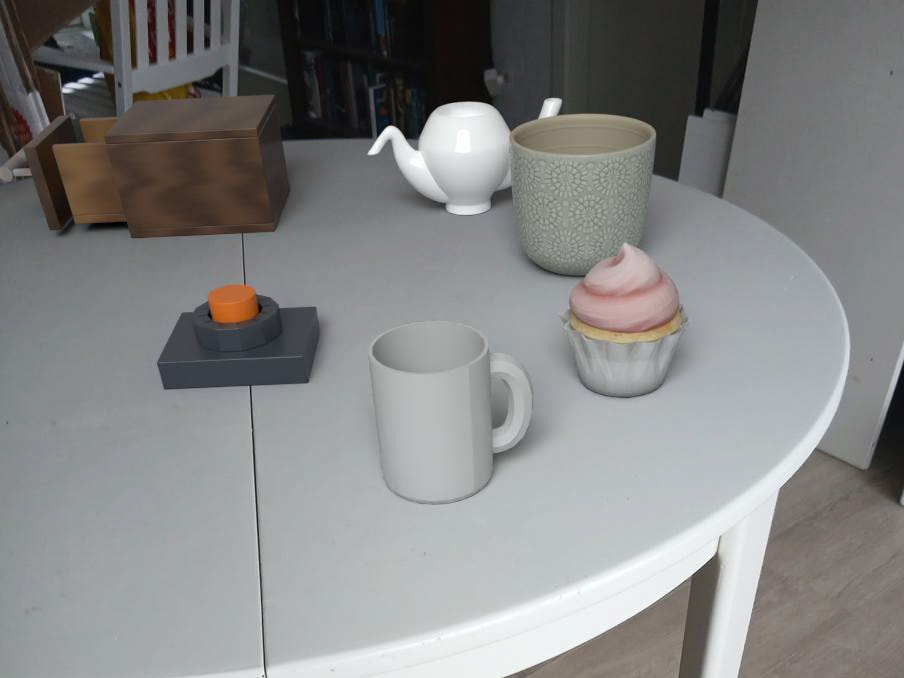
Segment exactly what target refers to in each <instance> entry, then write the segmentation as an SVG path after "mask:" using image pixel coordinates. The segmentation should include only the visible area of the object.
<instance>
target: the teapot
mask: <svg viewBox="0 0 904 678" xmlns="http://www.w3.org/2000/svg"><path fill="white" fill-rule="evenodd" d="M562 104H563V100H562V99H561V98H559V97H550V98H546V99H545V100H543V104H542V107H541V110H540V113H539V115H538V117H537V119H541V118H545V117H551V116H558V115H559V112H560V110H561V109H562V108H561V107H562ZM511 132H512V130H511V129H510V128H509V126H508V124H507V122H506V121H505V119H504V117H503V115H501V113H500V111H499V110H498V109H497V108H495V106H493V105H491V104H488V103H485V102H481V101H458V102H452V103H447V104H443V105H440V106H438V107H436V108H435V109H434V110H433V111H432V112H431V113H430V115H429V116H428V118H427V120H426V122H425V124H424V126H423V129H422V131H421V132H420V135H419V138H418V141H417V149H414V148H413V147H412V146H411V145H410V143H408V141H407V139H406V137H405V136H404V134H403V133H402V131H401V130H400V129H399V128H398V127H396V126H394V125H388V126H386V127H385V128H384V129H383V131H382V132H381V133H380V134H379V136H378V137H377V139H376V140H375V141H374V143H373V145H372V146H371V147H370V149H369V150H368V152H367V153H366V154H367V155H368V156H373V155H377V154H380V153H381V152H382V150H383V148H384V146H385V145H386V143H387V142H388V141H390V142H391V146H392V151H393V155H394V156H393V157H394V159H395V163H396V165H397V167H398V169H399V171H400V172H401V174H402V175H403V177H404V178H405V179H406V181H407V182H408V183H409V185H410V186H411V187H412V188H414V189H415V191H416V192H417V193H419V194H421V195H422V196H424V197H426V198H427V199H429V200H431V201H434V202H437V203H441V204H445V210H446V212H448V213H451V214H453V215H457V216H475V215H479V214H483V213H486V212H488V211H490V209H491V208H492V202H491V198H492V196H493V195H494V194H495V192H499V191H503V190H507V189H509V188H511V187H512V185H511V173H510V156H509V135H510V133H511Z"/></svg>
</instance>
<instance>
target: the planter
mask: <svg viewBox="0 0 904 678" xmlns="http://www.w3.org/2000/svg"><path fill="white" fill-rule="evenodd" d="M656 144H657V132H656V129H655V128H654V127H653V126H652V125H651V124H649V123H647V122H645V121H642V120H639V119H637V118H632V117H629V116H623V115H616V114H607V113H571V114H570V113H569V114H568V113H567V114H560V115H559V114H558V115H557V116H551V117H545V118H541V119H538V118H537V119H532V120H530V121H527V122H525V123H522V124H520V125H518V126H516V127H515V128H514V129H512V130H511V133H510V135H509V156H510V173H511V185H512V186H511V194H512V204H513V213H514V214H513V215H514V221H515V228H516V235H517V239H518V242H519V245H520V247H521V248H522V251H523V252H524V253H525V255H526V256H527V257H528V258H529V259H530V261H532V262H534V263H535V264H536V265H538V266H539V267H541V268H542V269H544V270H546V271H548V272H551V273H554V274H558V275H564V276H574V277H575V276H576V277H579V276H580V277H581V276H586V274H587V273H588V272H589V271H590V270H591V269H592V268H593V267H594V266H595V265H596V264H598V263H599V262H600V261H602V260H604V259H606V258H609V257H614V256H618V253H619V250H620V249H621V247H622V245H623V243H628V244H630V245H632V246H634V247H637V248H638V246H639V244H640V241H641V239H642V236H643V232H644V227H645V224H646V223H645V222H646V218H647V212H648V206H649V201H650V192H651V186H652V180H653V173H654V165H655V156H656V147H657V146H656Z"/></svg>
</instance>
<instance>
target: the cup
mask: <svg viewBox="0 0 904 678" xmlns="http://www.w3.org/2000/svg"><path fill="white" fill-rule="evenodd" d="M489 342H490V341H489V339H488V337H487V335H485V334H484V332H482V331H481V330H479V329H478V328H476V327H473V326H471V325H468V324H465V323H460V322H455V321H449V320H425V321H423V320H422V321H416V322H409V323H404V324H401V325H397V326H395V327H392V328H389V329H387V330H385V331H383V332H381V333H379V334H378V335H377V336H376V337H375V338H373V339H372V340H371V342H370V343H369V345H368V347H367V356H368V357H367V358H368V366H369V375H370V382H371V383H370V384H371V390H372V400H373V406H374V407H373V408H374V415H375V416H374V417H375V424H376V432H377V440H378V449H379V456H380V466H381V471H382V477H383V480H384V481H385V483H386V485H387V487H389V489H390V490H391V491H392V492H394V493H395V494H396V495H397V496H398V497H400V498H403V499H404V500H406V501H410V502H413V503H418V504H426V505H443V504H449V503H450V504H451V503H454V502H459V501H463V500H465V499H467V498H470V497H472V496H474V495H475V494H477V493H479V492H480V491H481V490H482V489H483V488H484V487H485V485H486V484H488V482H489V481H490V479H491V478H492V474H493V471H494V454H498V453H503V452H505V451H507V450H509V449H511V448H514V447H515V446H516V445H517V444H519V442H520V441H521V440H522V439H523V438H524V436H525V434H526V432H527V430H528V428H529V426H530V423H531V419H532V415H533V410H534V388H533V383H532V379H531V376H530V374H529V371H527V368H526V366H525V365H524V364H523V363H522V362H521V361H520V360H519V359H517V358H516V357H514V356H513V355H512V354H511V355H510V354H506V353H502V352H490V343H489ZM496 379H501V380H502V382H503V384H504V386H505V388H506V391H507V397H508V409H507V415H506V417H505V420H504V421H503V422H502V424H500V425H498V426H496V427H493V419H492V417H493V415H492V393H491V392H492V391H491V390H492V389H491V388H492V387H491V380H496Z"/></svg>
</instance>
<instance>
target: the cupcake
mask: <svg viewBox="0 0 904 678" xmlns="http://www.w3.org/2000/svg"><path fill="white" fill-rule="evenodd" d="M679 294H680V293H679V289H678V288H677V286H676V285H675V282H674V281H673V279H672V278H671V277H670V276H669V274H668V273H667V272H666V271H664V269H662V268H660V267H659V266H658V265H657V263H656V261H655V260H654V259H653V258H652V257H651V255H649V254H648V253H647V252H645V251H644V250H642V249H641V248H639V247H638V246H637V247H634V246H632V245H630V244H628V243H623V245H622V247H621V249H620V250H619V253H618V256H614V257H609V258H606V259H604V260H602V261H600V262H599V263H598V264H596V265H595V266H594V267H593V268H592V269H591V270H590V271H589V272H588V273H587V274H586V275H584V278H583V279H581V280H580V281H579V282H578V283H576V284H575V285H574V287H573V288H572V290H571V291H570V294H569V298H568V304H569V307H570V308H569V309H567V310H564V311H561V312H560V313H559V314H558V315H559V317H560V319H561V321H562V323H563V330H564V332H565V334H566V336H567V338H568V340H569V341H570V344H571V346H572V351H573V357H574V361H575V366H576V370H577V375H578V377H579V378H578V379H580V381H581V384H583V385H584V387H586V388H587V389H589V390H591V391H592V392H595V393H597V394H601V395H604V396H608V397H618V398H621V397H623V398H624V397H625V398H630V397H636V396H641V395H642V396H643V395H646V394H648V393H651V392H653V391H655V390H656V389H658V388H660V386H661V385H662V384H663V382H665V379H666V376H667V375H668V374H667V373H668V371H669V368H670V366H671V362H672V359H673V357H674V354H675V351H676V349H677V347H678V344H679V341H680V340H681V338H682V336H683V335H684V333H685V331H686V329H687V328H688V325H689V324H690V322H691V320H692V319H691V316H689V315H688V314H686V313H684V312H685V310H686V306H685V304H683V303H680V296H679Z"/></svg>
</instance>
